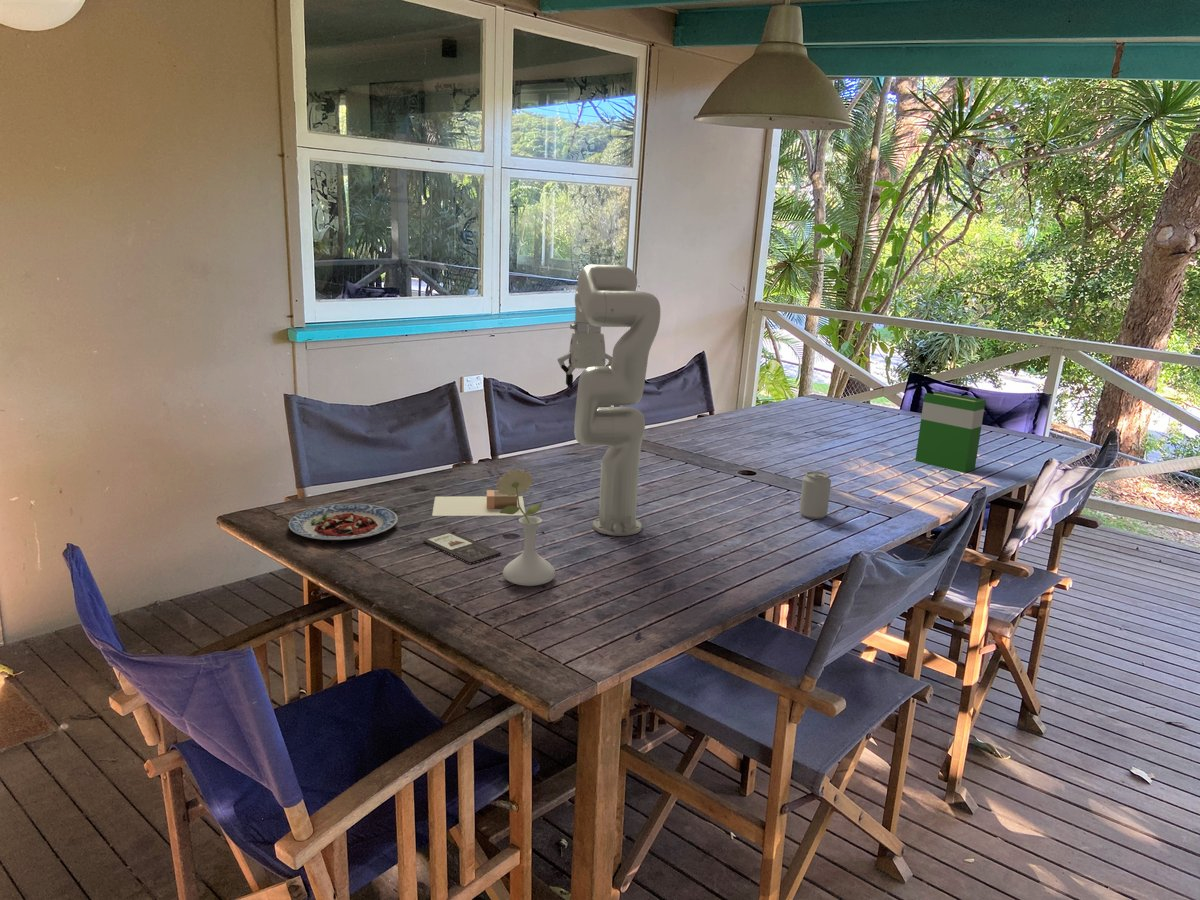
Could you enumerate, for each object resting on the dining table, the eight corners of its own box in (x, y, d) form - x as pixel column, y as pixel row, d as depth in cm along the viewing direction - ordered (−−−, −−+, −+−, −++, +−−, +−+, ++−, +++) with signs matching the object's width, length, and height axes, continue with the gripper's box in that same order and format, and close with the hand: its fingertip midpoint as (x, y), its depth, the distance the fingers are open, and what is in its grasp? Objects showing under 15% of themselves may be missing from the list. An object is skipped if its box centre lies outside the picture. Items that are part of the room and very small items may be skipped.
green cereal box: (915, 461, 298) (924, 393, 292) (925, 457, 303) (935, 391, 297) (964, 473, 285) (975, 402, 279) (974, 469, 290) (985, 400, 284)
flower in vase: (555, 570, 191) (559, 462, 185) (554, 591, 180) (558, 477, 174) (497, 569, 191) (498, 460, 184) (492, 590, 180) (493, 476, 173)
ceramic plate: (419, 526, 216) (419, 515, 215) (336, 556, 195) (336, 543, 194) (351, 505, 230) (350, 494, 229) (266, 530, 209) (265, 518, 208)
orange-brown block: (517, 508, 229) (517, 496, 228) (486, 508, 228) (486, 496, 227) (516, 502, 234) (516, 490, 233) (486, 502, 233) (486, 490, 232)
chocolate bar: (470, 562, 193) (423, 540, 204) (470, 566, 193) (423, 544, 205) (501, 552, 199) (453, 531, 211) (501, 556, 199) (453, 535, 211)
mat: (525, 518, 224) (525, 515, 224) (432, 518, 221) (432, 515, 221) (522, 499, 239) (522, 496, 239) (435, 499, 236) (435, 496, 236)
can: (807, 520, 232) (811, 478, 229) (794, 511, 239) (798, 470, 235) (832, 519, 234) (836, 477, 231) (818, 510, 241) (822, 469, 237)
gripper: (562, 329, 240) (560, 390, 245) (620, 330, 246) (617, 388, 250) (555, 326, 247) (553, 385, 251) (611, 326, 253) (609, 384, 257)
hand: (585, 387), depth 251 cm, fingers open, 9 cm apart
